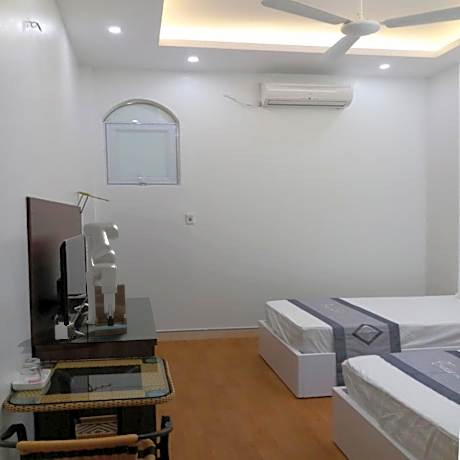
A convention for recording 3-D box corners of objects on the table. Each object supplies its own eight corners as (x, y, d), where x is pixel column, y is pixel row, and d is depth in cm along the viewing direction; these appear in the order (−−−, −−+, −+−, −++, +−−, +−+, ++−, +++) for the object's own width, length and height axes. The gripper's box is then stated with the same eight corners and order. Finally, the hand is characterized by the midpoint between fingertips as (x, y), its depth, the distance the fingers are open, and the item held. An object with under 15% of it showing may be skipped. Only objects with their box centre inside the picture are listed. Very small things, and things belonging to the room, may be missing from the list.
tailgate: (95, 327, 255) (95, 327, 246) (126, 324, 259) (126, 325, 249) (95, 329, 255) (95, 330, 246) (126, 327, 259) (126, 327, 249)
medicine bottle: (68, 339, 251) (67, 316, 250) (55, 339, 252) (54, 316, 252) (75, 336, 258) (74, 313, 257) (62, 336, 259) (61, 313, 259)
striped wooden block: (96, 330, 271) (94, 286, 270) (126, 327, 275) (124, 284, 274) (95, 336, 256) (93, 289, 256) (127, 333, 260) (125, 287, 260)
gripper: (101, 287, 256) (103, 323, 257) (101, 292, 242) (102, 330, 243) (116, 287, 258) (118, 322, 259) (117, 291, 243) (118, 328, 244)
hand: (110, 325), depth 251 cm, fingers closed
